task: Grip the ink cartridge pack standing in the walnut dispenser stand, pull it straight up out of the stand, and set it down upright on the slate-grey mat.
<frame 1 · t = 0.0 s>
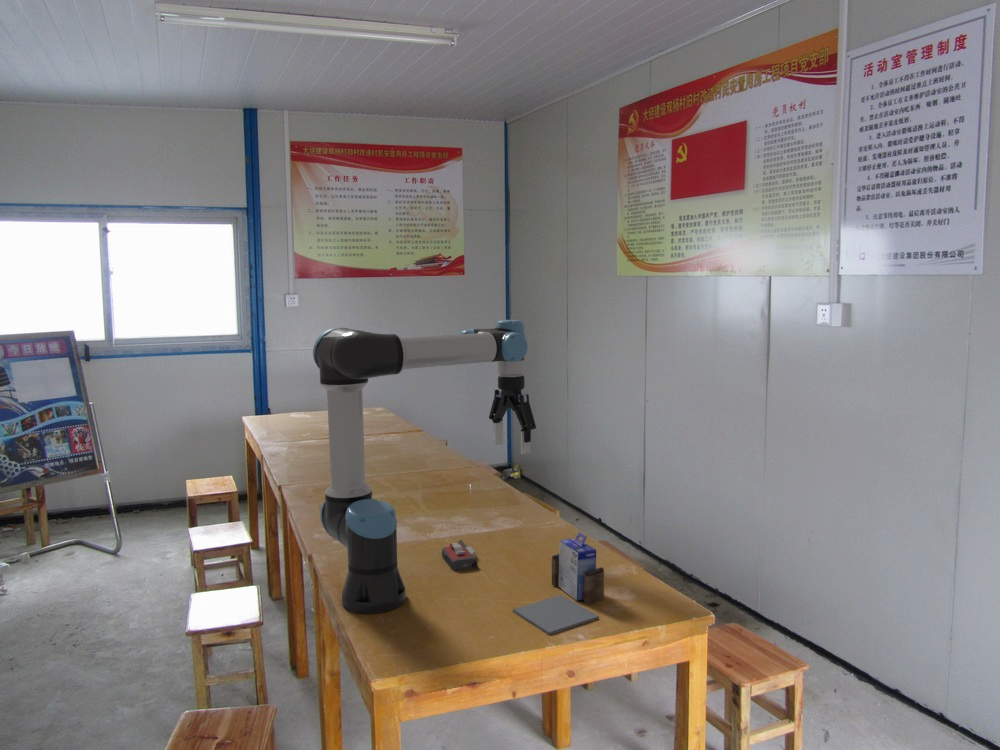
hand: (511, 449, 218), 28 cm above the table, tool pointing down, fingers open, 13 cm apart
walkie-talkie: (458, 559, 212), on the table
ink cartridge box: (577, 593, 187), on the table
grey mat: (555, 615, 175), on the table
dispenser stand: (577, 592, 187), on the table
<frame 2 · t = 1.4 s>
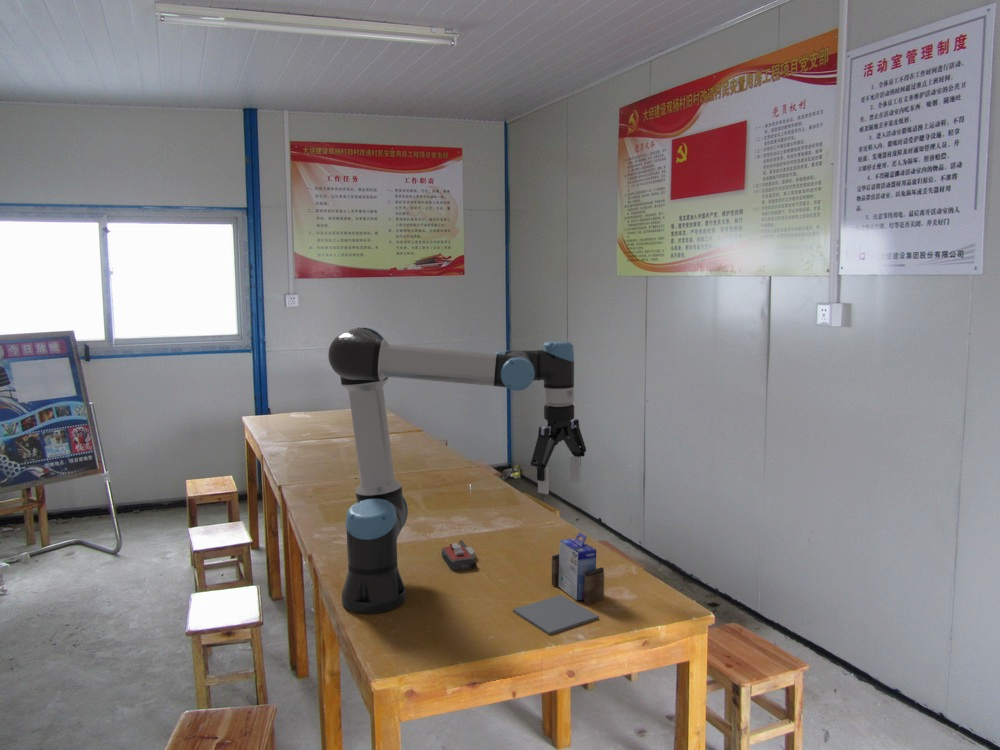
hand: (559, 487, 193), 24 cm above the table, tool pointing down, fingers open, 13 cm apart
nothing on the table moved.
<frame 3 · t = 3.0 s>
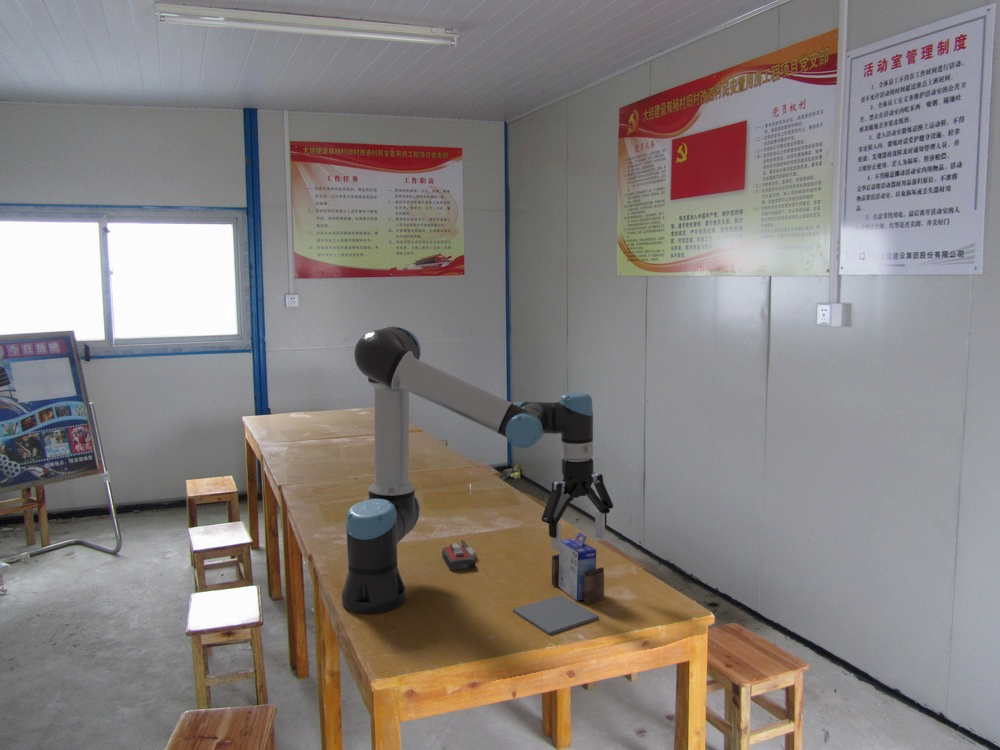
hand: (578, 543, 186), 12 cm above the table, tool pointing down, fingers open, 13 cm apart
nothing on the table moved.
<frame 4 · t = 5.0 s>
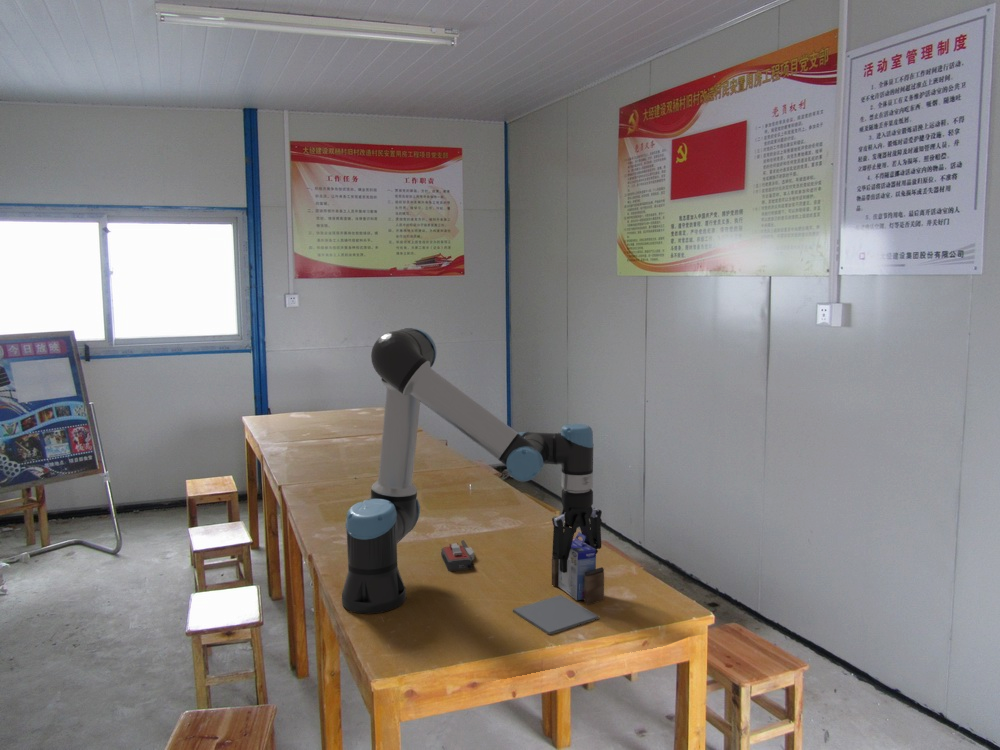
hand: (577, 580, 187), 3 cm above the table, tool pointing down, fingers closed on ink cartridge box, 6 cm apart
ink cartridge box: (577, 593, 187), on the table, touching gripper
everything else where it was.
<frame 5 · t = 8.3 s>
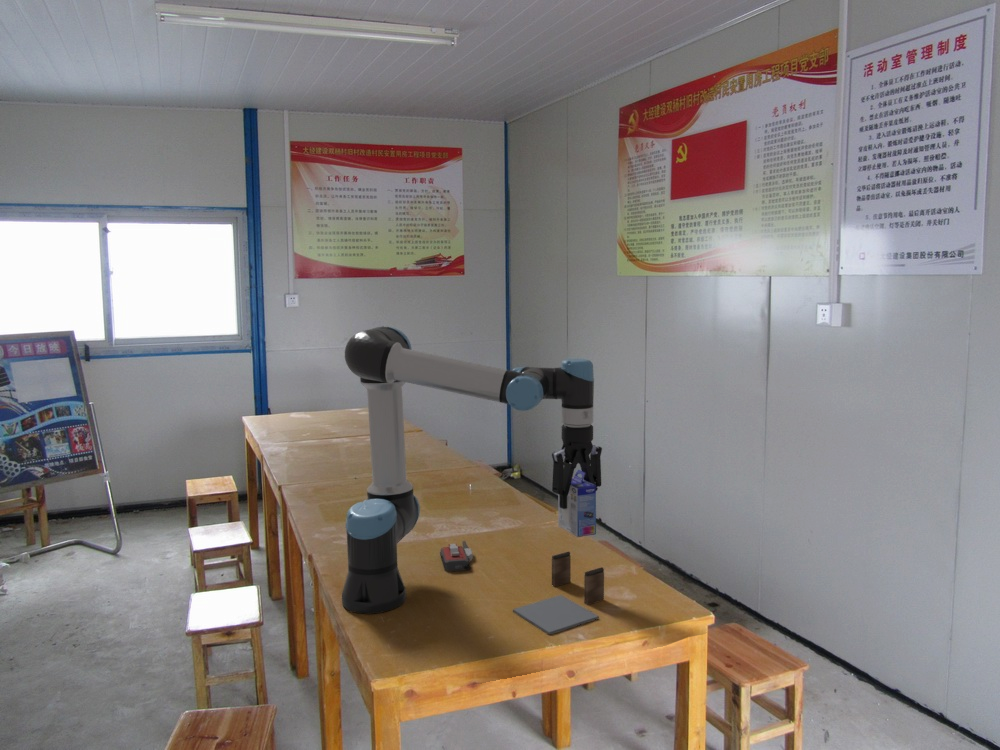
hand: (576, 518, 185), 19 cm above the table, tool pointing down, fingers closed on ink cartridge box, 6 cm apart
ink cartridge box: (577, 531, 185), point 16 cm above the table, touching gripper
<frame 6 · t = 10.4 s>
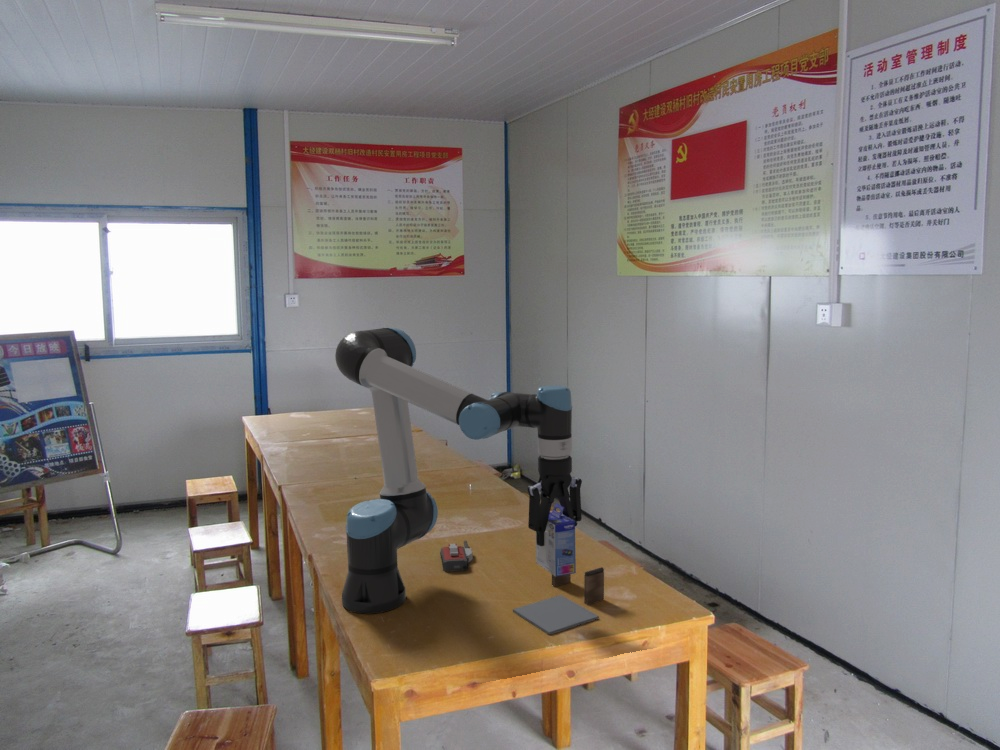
hand: (555, 555, 173), 14 cm above the table, tool pointing down, fingers closed on ink cartridge box, 6 cm apart
ink cartridge box: (556, 569, 174), point 11 cm above the table, touching gripper
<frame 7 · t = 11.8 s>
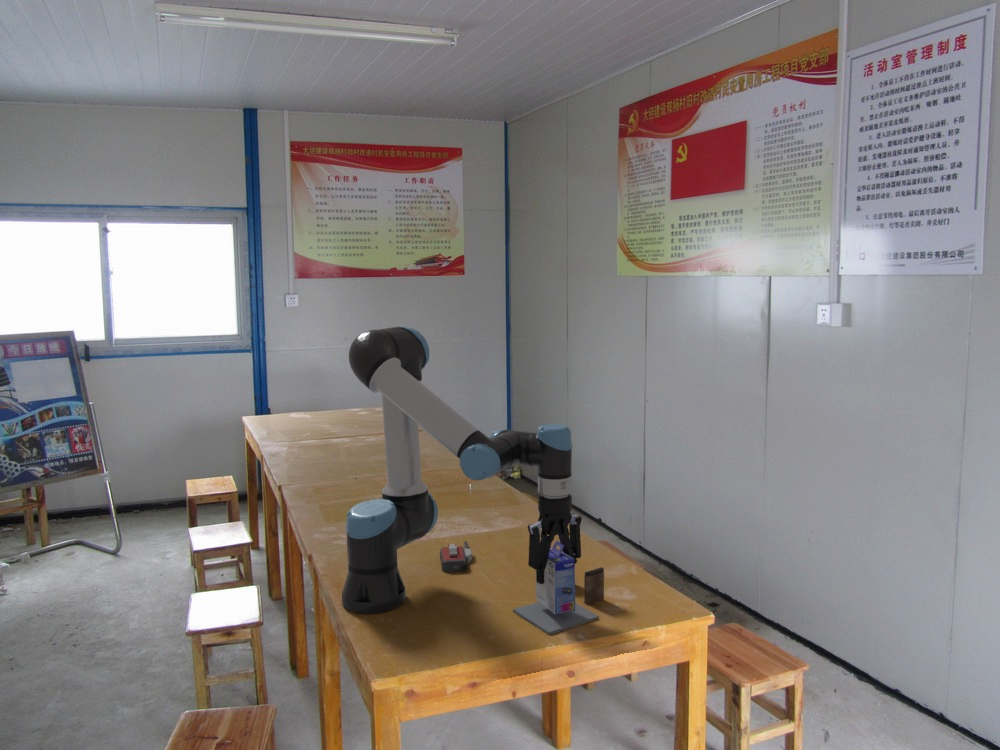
hand: (555, 592, 174), 5 cm above the table, tool pointing down, fingers closed on ink cartridge box, 6 cm apart
ink cartridge box: (556, 605, 175), point 2 cm above the table, touching gripper
when the fingers open (5 cm above the table, at t = 12.7 s): ink cartridge box drops 1 cm, resting on grey mat.
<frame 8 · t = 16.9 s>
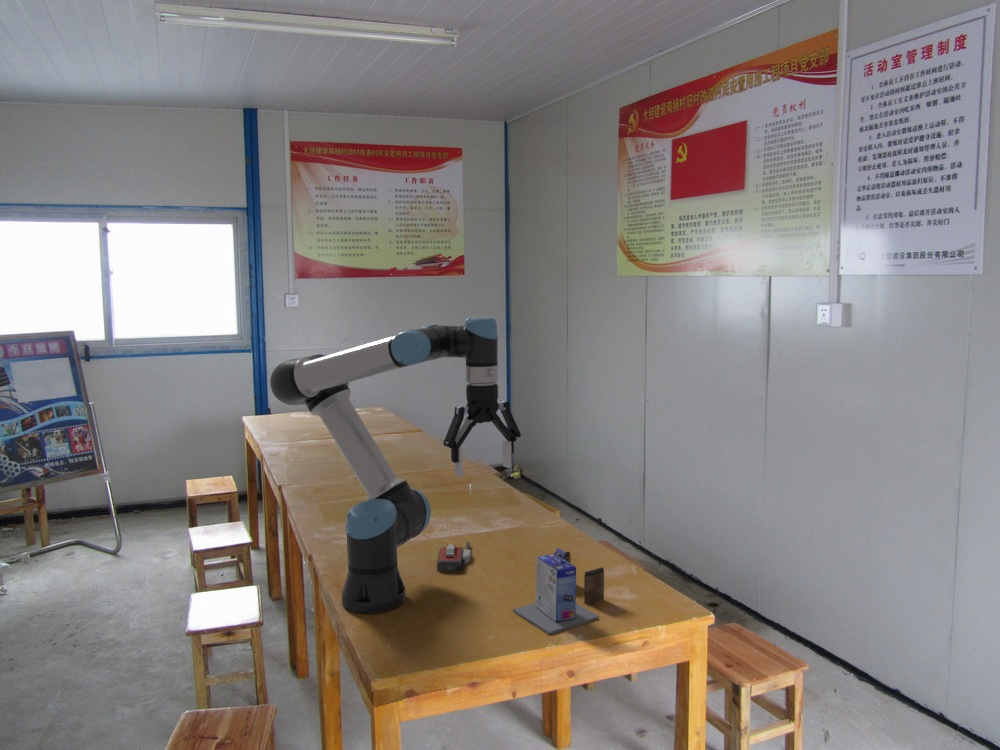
hand: (483, 471, 183), 31 cm above the table, tool pointing down, fingers open, 13 cm apart
ink cartridge box: (555, 613, 175), resting on grey mat
at the end: ink cartridge box inside the target area on the grey mat (0.1 cm from its centre), point 0.4 cm above the grey mat's base; ink cartridge box tilted 0°; the gripper is holding nothing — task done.
